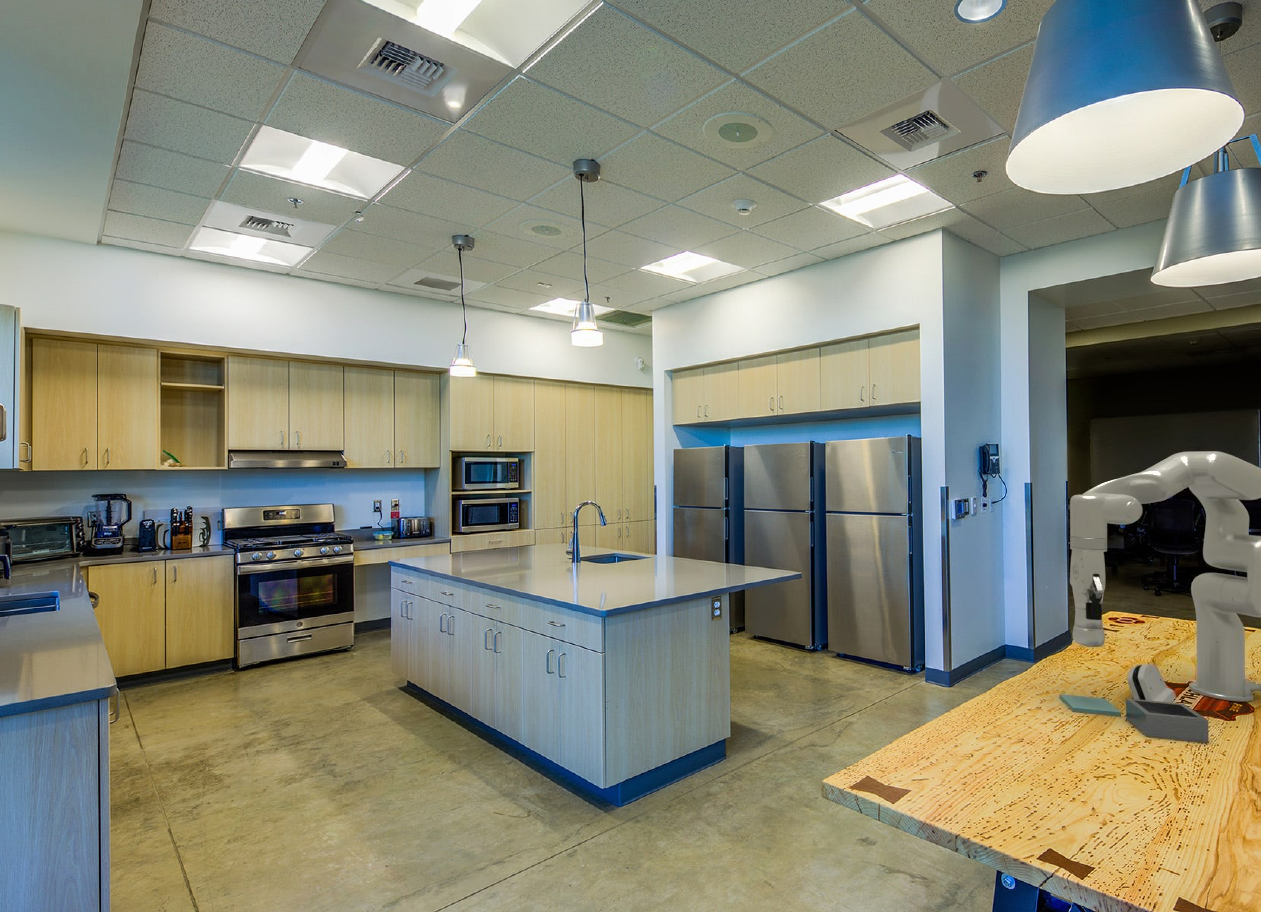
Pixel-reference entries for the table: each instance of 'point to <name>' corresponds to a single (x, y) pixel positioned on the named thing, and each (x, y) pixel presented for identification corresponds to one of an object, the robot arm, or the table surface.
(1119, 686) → the table surface
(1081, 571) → the robot arm
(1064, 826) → the table surface
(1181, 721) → the square socket
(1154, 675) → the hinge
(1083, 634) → the plastic bottle
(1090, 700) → the board
